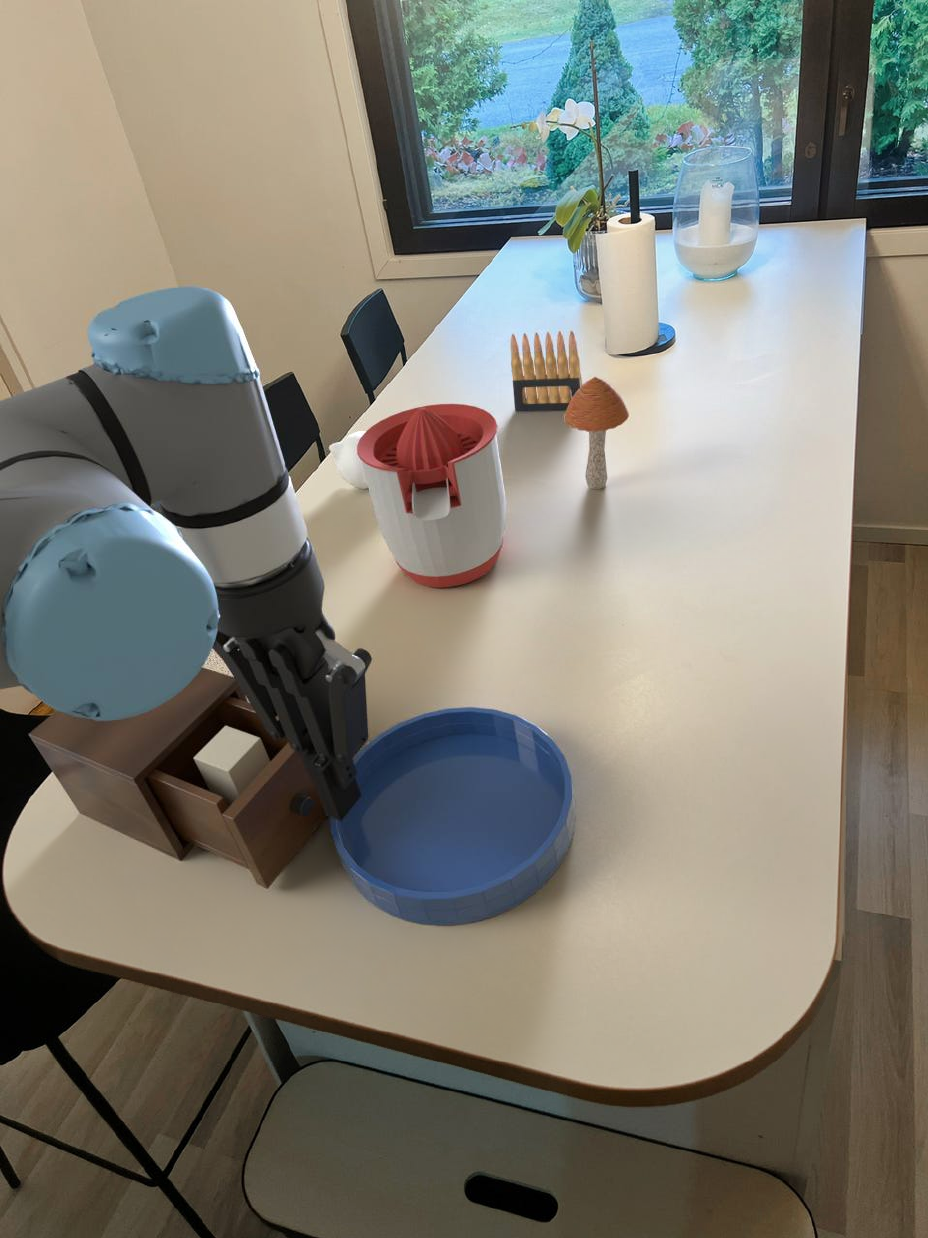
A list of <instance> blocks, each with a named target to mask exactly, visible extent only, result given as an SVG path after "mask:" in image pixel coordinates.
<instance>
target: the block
mask: <svg viewBox="0 0 928 1238" xmlns="http://www.w3.org/2000/svg"><path fill="white" fill-rule="evenodd" d="M194 760H195V762H196V764H197V766H198V768H199V770H200V772H201V774H202V776H203V778H204V780H205V782H206V784H207V786H208V788H209V790H210V792H212V793H214V794H217V795H219V796H221V797H223V798H224V800H225V802H226V804H227V806H228V808H229V807H230V806H231V804H232V803H233V802H234V801H235V800H236V799H237V798H238V797H239V796H240V795H241V794H242V792H243V791H244V790H245V789H246V788H247V787H248V786H249V785H250V784H251V783H252V781H253V780H254V779H255V778H256V777H257V776H258V775H259V774H260V773H261V772H262V771H263V769H264V768H265V767H266V766H267V765H268V764H269V763H270V760H269V757H268V755H267V753H266V750H265V748H264V746H263V743H262V741H261V739H260V738H259V737H256V736H253V735H251V734H248V733H245V732H242V731H239V730H237V729H234V728H231V727H228V726H225V727H224V728H223V729H222V730H221V731H220V732H219V733H218V734H217V735H216V736H215V737H214V738H213V739H212V740H211V741H210V742H209V743H208V744H207V745H206V746H205V747H204V748H203V749H202V750H201V751H200V752H199V753H198V754H197V755H196V756H195V757H194Z"/></svg>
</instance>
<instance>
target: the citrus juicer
mask: <svg viewBox="0 0 928 1238" xmlns="http://www.w3.org/2000/svg"><path fill="white" fill-rule="evenodd" d="M497 433H498V423H497V420H496V419H495V417H494V416H493V415H492V414H491V413H490V412H488V411H487V410H485V409H484V408H480V407H478V406H474V405H469V404H460V403H437V404H428V405H424V406H418V407H414V408H410V409H407V410H406V409H405V410H402V411H400V412H397V413H395V414H392V415H390V416H388V417H386V418H384V419H381V420H380V421H378V422H377V423H375V424H373V425H371V426H370V427H369V428H368V429H367V430H366V431H365V433H364V434H363V435H362V437H361V438H360V440H359V442H358V445H357V454H358V456H359V458H360V459H361V460H362V463H363V467H364V471H365V475H366V479H367V483H368V487H369V488H368V491H369V494H370V498H371V502H372V507H373V509H374V511H373V512H374V515H375V518H376V521H377V524H378V528H379V530H380V534H381V535H382V537H383V539H384V541H385V544H386V545H387V548H388V550H389V552H390V553H391V555H392V557H393V558H394V560H395V562H396V564H397V565H398V567H399V568H400V569H401V571H402V572H403V573H404V574H405V575H406V576H407V577H408V579H410V580H411V581H413V583H416V584H419V585H421V586H423V587H425V586H426V587H430V588H450V587H451V588H452V587H456V586H462V585H465V584H468V583H471V582H473V581H475V580H478V579H479V578H482V577H483V576H484V575H486V574H488V573H489V572H490V571H491V570H492V569H493V568H494V566H495V565H496V564H497V561H498V559H499V557H500V554H501V551H502V547H503V544H504V533H505V525H506V512H507V511H506V509H507V508H506V507H507V505H506V495H505V487H504V479H503V472H502V465H501V459H500V458H501V457H500V452H499V451H500V450H499V446H498V439H497Z"/></svg>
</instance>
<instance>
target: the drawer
mask: <svg viewBox="0 0 928 1238" xmlns="http://www.w3.org/2000/svg"><path fill="white" fill-rule="evenodd" d="M276 719H277V720H278V719H279V717H278V715H277V716H276ZM225 726H228V727H231V728H234V729H237V730H239V731H242V732H245V733H248V734H251V735H253V736H256V737H259V738H260V739H261V741H262V743H263V746H264V748H265V750H266V753H267V755H268V757H269V760H270V763H269V764H268V765H267V766H266V767H265V768H264V769H263V771H262V772H261V773H260V774H259V775H258V776H257V777H256V778H255V779H254V780H253V781H252V783H251V784H250V785H249V786H248V787H247V788H246V789H245V790H244V791H243V792H242V794H241V795H240V796H239V797H238V798H237V799H236V800H235V801H234V802H233V803H232V804H231V806H230V807H229V808H228V806H227V804H226V802H225V800H224V798H223V797H221V796H219V795H217V794H214V793H212V792H210V790H209V788H208V786H207V784H206V782H205V780H204V778H203V776H202V774H201V772H200V770H199V768H198V766H197V764H196V762H195V760H194V757H195V756H196V755H197V754H198V753H199V752H200V751H201V750H202V749H203V748H204V747H205V746H206V745H207V744H208V743H209V742H210V741H211V740H212V739H213V738H214V737H215V736H216V735H217V734H218V733H219V732H220V731H221V730H222V729H223V728H224V727H225ZM144 779H145V781H146V783H147V785H148V786H149V788H150V790H151V792H152V794H153V795H154V797H155V799H156V801H157V802H158V804H159V806H160V808H161V810H162V811H163V813H164V815H165V817H166V818H167V820H168V822H169V824H170V825H171V827H172V829H173V831H174V833H175V834H176V836H177V837H179V838H181V839H183V840H185V841H188V842H190V843H192V844H194V845H195V846H196V847H198V848H201V849H203V850H204V851H207V852H210V853H212V854H213V855H216V856H218V857H221V858H223V859H225V860H227V861H229V862H231V863H233V864H236V865H238V866H240V867H242V868H244V869H247V870H249V871H250V873H251V875H252V877H253V879H254V881H255V883H256V885H257V886H259V887H262V888H265V889H269V888H270V887H271V886H272V884H273V883H274V882H275V881H276V880H277V879H278V877H279V876H280V874H281V873H282V872H283V871H284V870H285V869H286V867H287V866H288V864H290V863H291V861H292V860H293V859H294V857H295V856H296V854H298V852H299V851H300V850H301V849H302V847H303V846H304V845H305V843H306V842H307V841H308V840H309V838H310V837H311V836H312V835H313V834H314V833H315V831H316V830H317V828H318V827H319V826H320V825H321V824H322V822H323V821H324V820H325V819H326V817H327V815H326V813H325V811H324V808H323V806H322V803H321V801H320V798H319V796H318V793H317V791H316V788H315V786H314V783H313V781H312V778H311V777H310V776H309V775H308V773H307V772H306V770H305V767H304V765H303V762H302V760H301V757H300V755H299V753H297V752H295V751H294V750H293V749H292V748H291V747H290V745H289V742H288V740H287V739H285V738H283V739H282V740H281V741H277V740H275V739H273V738H272V737H271V736H270V734H269V733H268V731H267V730H266V728H265V726H264V725H263V723H262V722H261V720H260V718H259V717H258V715H257V713H256V712H255V710H254V709H253V707H252V705H251V704H250V702H249V701H248V702H245V701H242V700H239V699H236V698H233V697H230V696H229V697H228V698H227V699H226V700H225V701H223V702H222V703H221V704H220V705H219V706H218V707H217V708H216V709H215V710H214V711H213V712H212V713H211V714H210V715H209V716H208V717H207V718H206V719H205V720H204V721H203V722H202V723H201V724H200V725H199V726H198V727H197V728H196V729H195V730H194V731H193V732H192V733H191V734H190V735H189V736H188V737H186V738H185V739H184V740H183V741H182V742H181V743H180V744H179V745H178V746H177V747H176V748H175V749H174V750H173V751H172V752H171V753H170V754H169V755H168V756H167V757H166V758H165V759H164V760H163V761H162V762H161V763H160V764H159V765H158V766H157V767H156V768H155V769H154V770H153V771H152V772H151V773H150V774H148V775H147V776H146V777H145V778H144Z"/></svg>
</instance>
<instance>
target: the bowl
mask: <svg viewBox="0 0 928 1238" xmlns="http://www.w3.org/2000/svg"><path fill="white" fill-rule="evenodd" d="M352 759H353V762H354V765H355V767H356V770H357V776H356V777H355V778H356V781H357V784H358V787H359V790H360V793H361V795H362V796H361V797H360V798H359V799H358V801H357V802H356V803H355V805H354V806H353V807H352V808H351V810H350V811H349V812H348V813H347V815H346V816H345V817H344V818H343V820H342V821H340V820H337V819H334V818H332V817H329V831H330V834H331V837H332V840H333V843H334V846H335V849H336V852H337V854H338V857H339V859H340V862H341V864H342V868H343V869H344V872H345V874H346V875H347V877H348V879H349V881H350V882H351V884H352V885H353V887H354V888H355V889H356V891H357V892H358V893H359V894H360V895H361V896H362V897H363V898H364V899H365V900H366V901H367V902H368V903H370V904H371V905H373V906H374V907H376V908H377V909H378V910H381V911H382V912H384V913H386V914H387V915H390V916H392V917H395V918H398V919H400V920H403V921H406V922H410V923H414V924H420V925H427V926H439V927H441V926H457V925H458V926H459V925H464V924H465V925H466V924H472V923H476V922H480V921H482V920H486V919H490V918H493V917H495V916H497V915H501V914H503V913H505V912H508V911H509V910H510V909H512V908H515V907H516V906H518V905H521V903H523V902H525V901H526V900H527V899H529V898H530V897H532V896H533V895H534V894H536V892H538V891H539V890H540V889H541V888H542V887H543V886H544V885H545V884H547V882H548V881H549V880H550V879H551V878H552V876H554V874H556V872H557V871H558V869H559V867H560V866H561V864H562V863H563V862H564V860H565V858H566V855H567V853H568V851H569V848H570V847H571V843H572V839H573V836H574V833H575V826H576V808H575V806H576V805H575V793H574V784H573V777H572V773H571V770H570V768H569V765H568V762H567V759H566V756H565V754H564V753H563V751H561V749H560V747H559V746H558V745H557V744H556V742H555V741H554V739H553V738H552V737H550V736H549V735H548V734H547V733H546V732H545V731H544V730H542V729H541V728H540V727H538V726H537V724H534V723H532V722H530V721H528V720H526V719H524V718H523V717H520V716H519V715H516V714H512V713H509V712H506V711H502V710H498V709H494V708H485V707H477V706H476V707H475V706H474V707H473V706H466V707H464V706H463V707H448V708H443V709H442V708H441V709H438V710H433V711H429V712H424V713H421V714H419V715H416V716H414V717H410V718H408V719H406V720H404V721H401V722H398V723H397V724H395V725H393V726H391V727H389V728H388V729H386V730H385V731H383V732H381V733H379V734H378V735H377V736H375V737H374V738H373V739H372V740H371V741H370V742H368V743H367V744H365V746H363V747H362V748H361V749H360V750H359V751H358V752H357V754H356V755H355V756H354V757H353V758H352Z"/></svg>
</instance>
